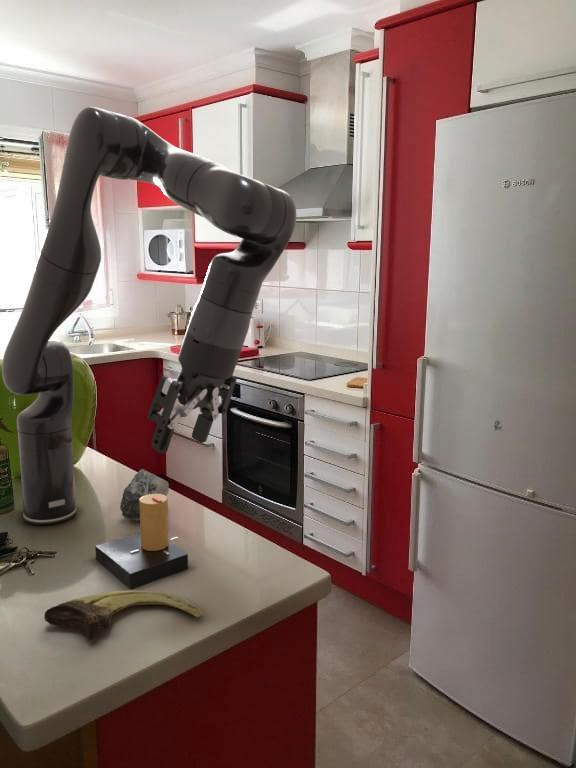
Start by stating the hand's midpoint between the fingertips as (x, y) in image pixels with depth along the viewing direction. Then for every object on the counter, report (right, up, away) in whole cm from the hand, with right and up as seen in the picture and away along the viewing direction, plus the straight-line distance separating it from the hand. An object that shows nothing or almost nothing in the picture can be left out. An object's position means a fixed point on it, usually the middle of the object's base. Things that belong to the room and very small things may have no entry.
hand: (178, 445), depth 86 cm
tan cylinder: (-7, -18, +16) cm, 25 cm away
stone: (-12, -17, +34) cm, 39 cm away
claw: (-7, -24, 0) cm, 25 cm away
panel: (-9, -21, +15) cm, 27 cm away
